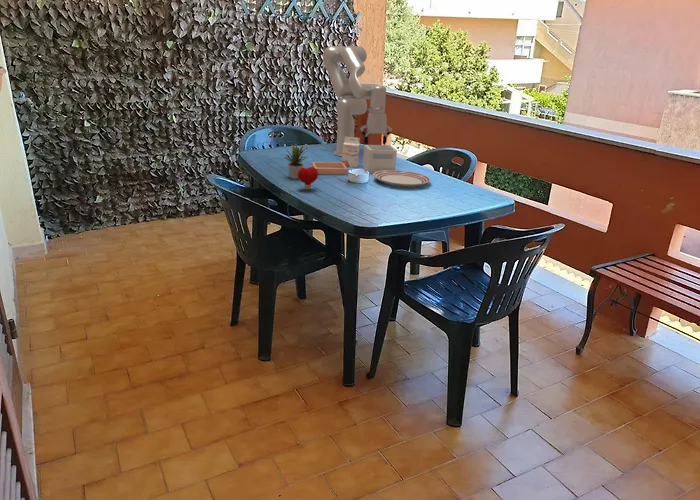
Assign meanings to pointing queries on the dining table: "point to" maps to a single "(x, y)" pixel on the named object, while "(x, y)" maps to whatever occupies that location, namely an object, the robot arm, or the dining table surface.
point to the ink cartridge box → (351, 152)
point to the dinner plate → (401, 178)
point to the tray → (330, 168)
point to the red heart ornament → (308, 176)
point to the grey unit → (379, 158)
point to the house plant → (295, 161)
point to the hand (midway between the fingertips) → (375, 144)
